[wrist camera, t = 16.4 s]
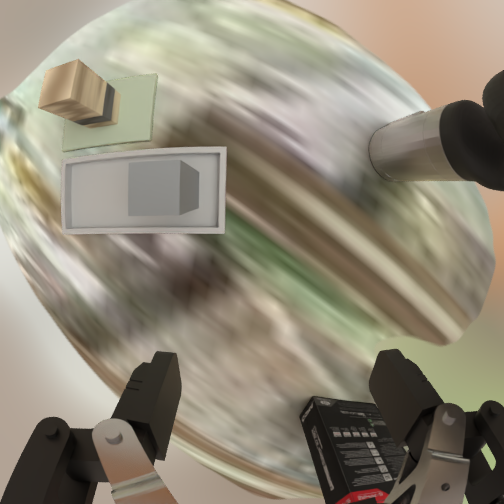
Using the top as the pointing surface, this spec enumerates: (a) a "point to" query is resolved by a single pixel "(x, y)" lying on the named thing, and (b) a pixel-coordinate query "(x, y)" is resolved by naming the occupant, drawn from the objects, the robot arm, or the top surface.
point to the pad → (119, 117)
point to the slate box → (162, 188)
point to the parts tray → (116, 193)
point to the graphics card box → (351, 450)
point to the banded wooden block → (79, 96)
